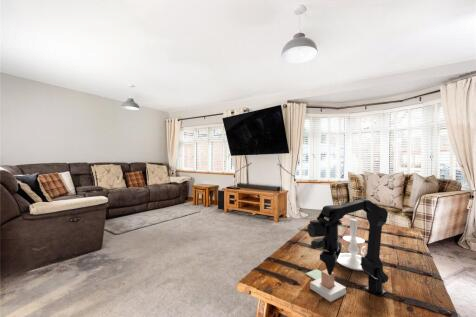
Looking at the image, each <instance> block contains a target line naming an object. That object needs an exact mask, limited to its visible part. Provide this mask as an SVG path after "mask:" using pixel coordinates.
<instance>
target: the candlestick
mask: <svg viewBox="0 0 476 317" xmlns="http://www.w3.org/2000/svg"><path fill="white" fill-rule="evenodd" d="M357 234H358V219H356V218H352V217H350V218H349V235H344V236H342V239H343V240H344V241H346V242H349V245H348V246H347V250H348V252H340V254H339V257H338V259H337V262H336V263H339V264H340V265H341V266H343V267H344V268H345V267H346V268H347V269H349V270H353V271H363V269H362V267H361V265H360V264H361V257H365V255H366V253H367V245H364V246H362V247H361V249H360V248H359V247H358V244H364V243H366V242H365V239H364V238H362V237H358V236H357ZM359 252H360V254H361V255H360V254H359ZM363 272H364V271H363Z"/></svg>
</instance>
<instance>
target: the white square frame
mask: <svg viewBox="0 0 476 317" xmlns="http://www.w3.org/2000/svg"><path fill="white" fill-rule="evenodd" d="M309 285H310V287H309V288H310V289H311V290H312V291H313V292H314V293H317V294H318V295H320V297H322V298H324V299H326V300H327V301H329V302H330V303H331V302H334V301H335V300H337V299H340V298H341V297H343V296H345V295H347V287H346V286H344V285H342V284H341V283H339V282H337V281H336V280H334V287H333V288H331V289H328V288H326V287H324V286H323V285H321V278H319V279H317V280H315V279H313V281H310V284H309Z"/></svg>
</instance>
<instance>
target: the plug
mask: <svg viewBox="0 0 476 317" xmlns="http://www.w3.org/2000/svg"><path fill="white" fill-rule="evenodd" d="M320 271H321V285H323V286H324V287H326V288H328V289H331V288H333V287H334V281H335V272H332V274H331V275H329V274H328V271H327V268H325V269H323V270H320Z"/></svg>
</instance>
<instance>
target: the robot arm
mask: <svg viewBox="0 0 476 317" xmlns="http://www.w3.org/2000/svg"><path fill="white" fill-rule="evenodd" d="M359 211H364V212H365V216H366V217H365V218H366V219H367V222H368V224H369V227H368V238H367V246H366V253H365V255H364V257H361V264H360V265H361V267H362V269H363V273H364V274H365V275H366V276H368V277H367V278H368V282H367V283H368V286H365V287H364V289H365V290H367V291H369V292H370V293H372V294H374V295H376V296H378V297H381V296H382V295H384V294H385V293H387V290H386V289H383V288H384V286H383V285H384V284H386V283H387V282H388V280H389V276H388V275H387V274H386V273H385V272H384V267H383V266H384V265H383V262H382V260H381V257H380V254H381V253H380V252H381V241H382V230H383V226H384V225H385V224H386V223H387V221H388V216H389V214H388V210H387V209H386V208H384V207H381V206H379V205H377V204H376V203H375V202H374V203H373V202H372V201H371V200H369V199H366V198H359V199H356V200H353V201H349V202H346V203H342V204H338V205H337V204H336V205H335V204H334V205H333V204H331V205H324V206H323V207H322V209H321V211H320V213H319V214H318V216H317V218H316V220H310V221H309V224H308V225H307V228H306V229H307V233H308V236H309V237H310V238H314V239H312V240H311V241H310V247H311V248H312V249H313V250H316V249H322V251H321V252H320V254H319V260H320V261H321V262H323V263H324V265H325V267H326V268H325V269H327V271H328V274H329V275H331V274H332V272H333V271H334V269H335V267H336V264H337V263H338V262H337V259H338V257H339V254H340V253H342V248H343V246H342V245H343V244H342V243H341V242H340V241H339V240H340V236H339V226H342V225H343V223H342V222H341V221H340V220H342V219H343V218H344V217H345V216H346V215H349V214H352V213H356V212H359ZM318 237H319V238H318Z"/></svg>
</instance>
